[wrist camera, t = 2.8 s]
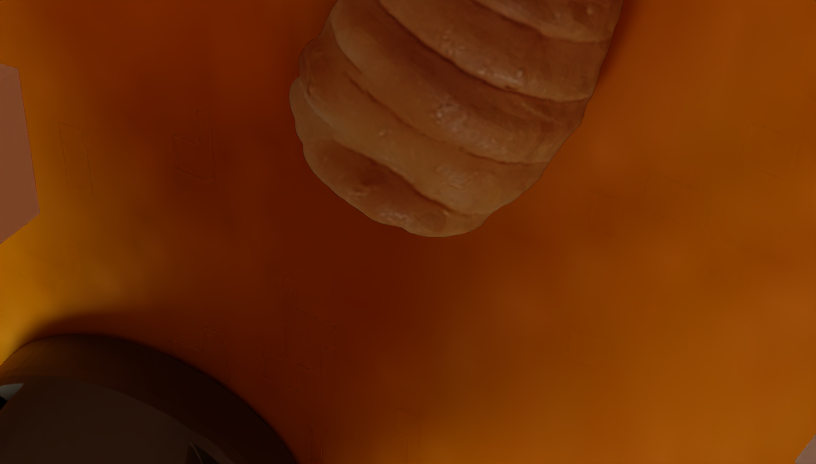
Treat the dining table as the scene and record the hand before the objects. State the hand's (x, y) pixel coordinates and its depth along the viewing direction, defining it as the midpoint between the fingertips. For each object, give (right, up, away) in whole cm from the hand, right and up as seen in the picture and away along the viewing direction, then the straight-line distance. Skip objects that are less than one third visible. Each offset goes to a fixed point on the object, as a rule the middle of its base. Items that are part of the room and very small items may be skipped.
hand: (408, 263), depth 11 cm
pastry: (+1, +5, +8) cm, 10 cm away
